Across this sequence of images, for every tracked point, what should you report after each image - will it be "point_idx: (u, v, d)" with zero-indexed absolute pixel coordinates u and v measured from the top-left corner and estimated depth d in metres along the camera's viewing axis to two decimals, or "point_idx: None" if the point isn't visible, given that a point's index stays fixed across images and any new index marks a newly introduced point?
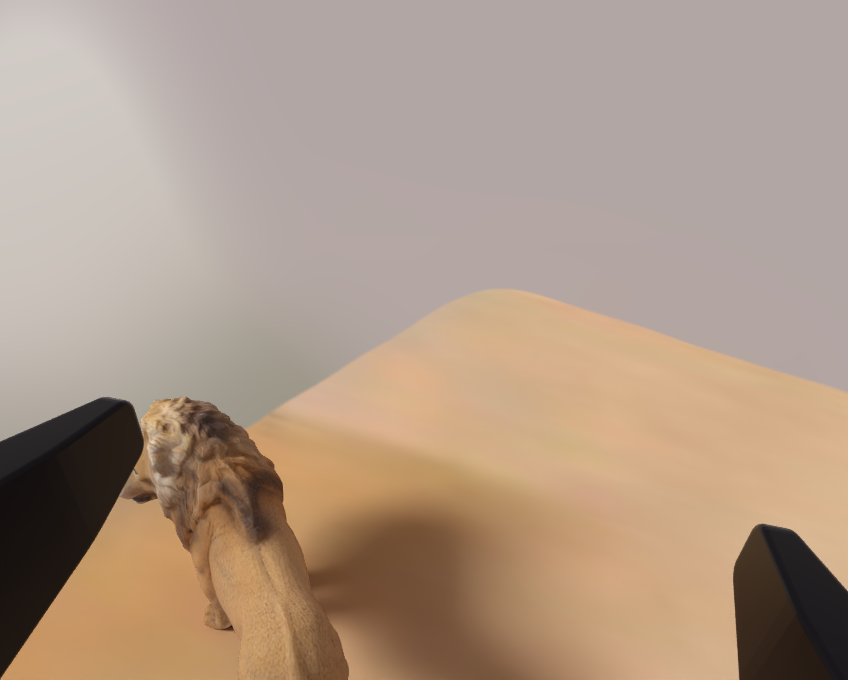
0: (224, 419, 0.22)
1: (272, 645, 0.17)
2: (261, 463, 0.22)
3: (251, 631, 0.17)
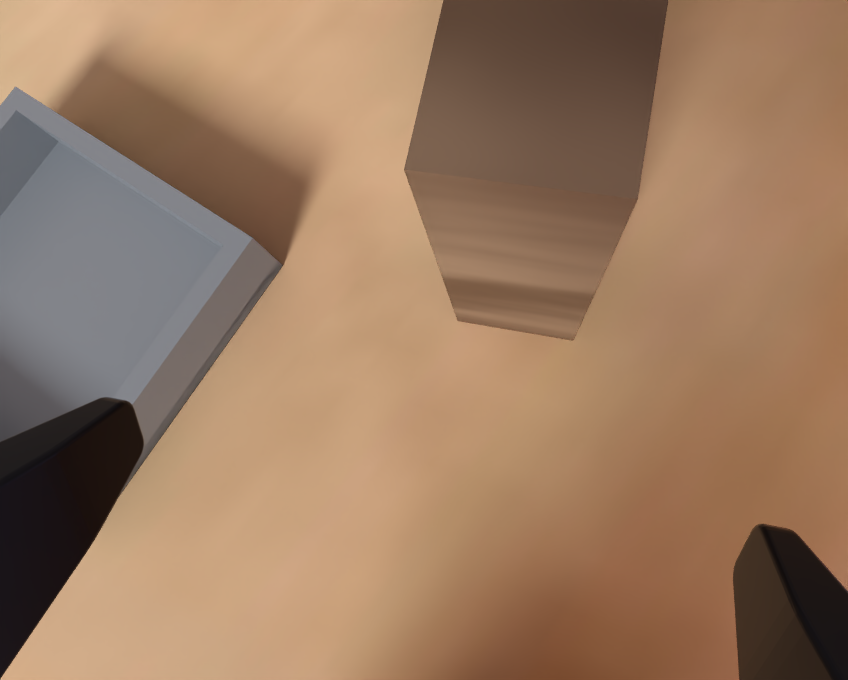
0: None
1: None
2: None
3: None
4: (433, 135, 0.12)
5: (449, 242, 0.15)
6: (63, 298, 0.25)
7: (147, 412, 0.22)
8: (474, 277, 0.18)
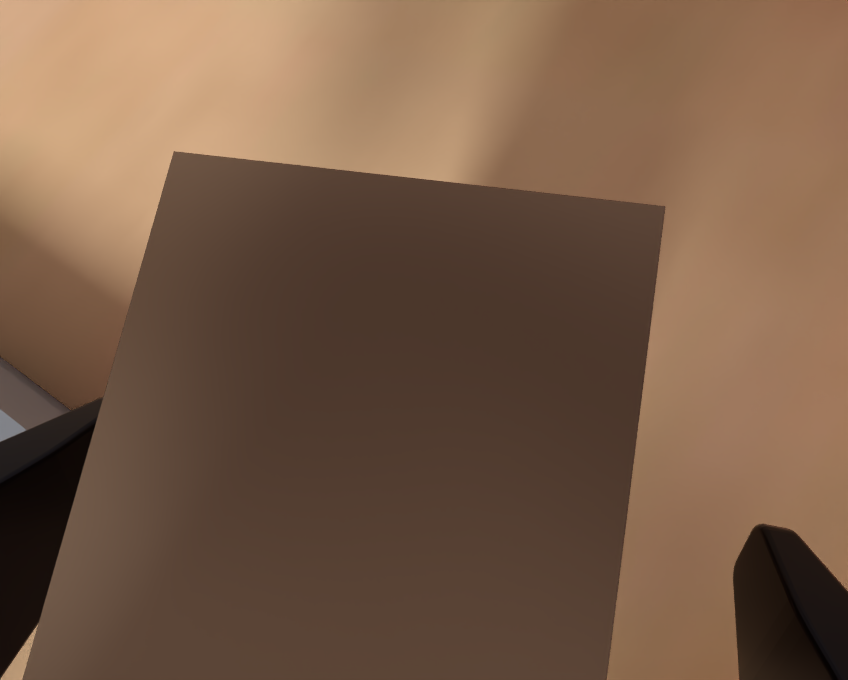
0: None
1: None
2: None
3: None
4: (83, 638, 0.05)
5: None
6: None
7: None
8: None
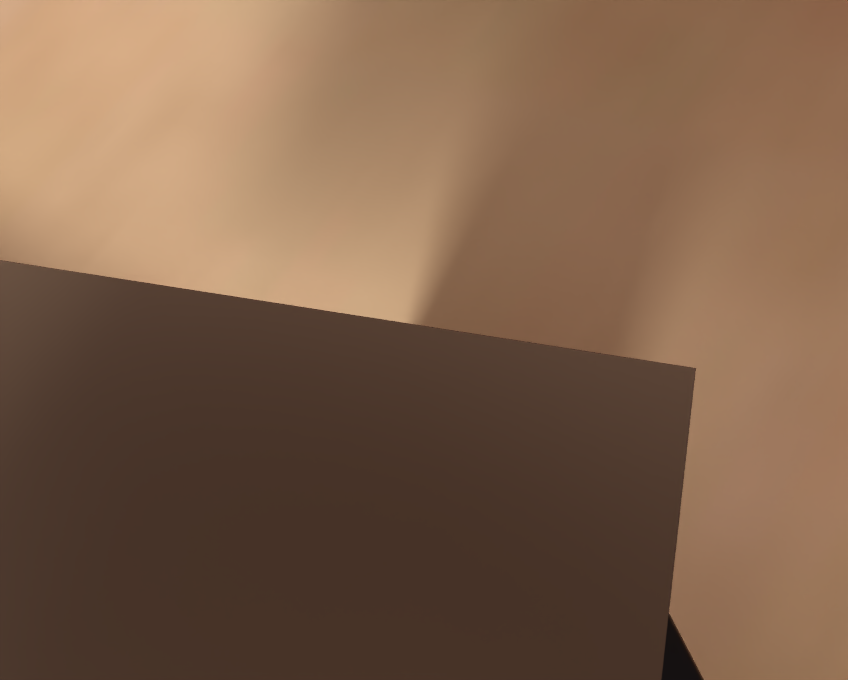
0: None
1: None
2: None
3: None
4: None
5: None
6: None
7: None
8: None
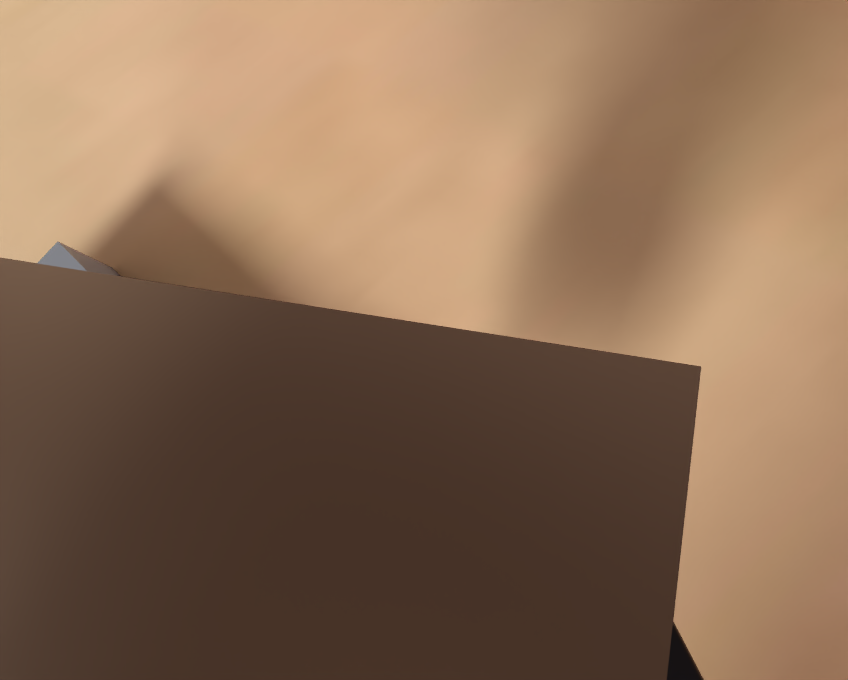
0: None
1: None
2: None
3: None
4: None
5: None
6: None
7: None
8: None
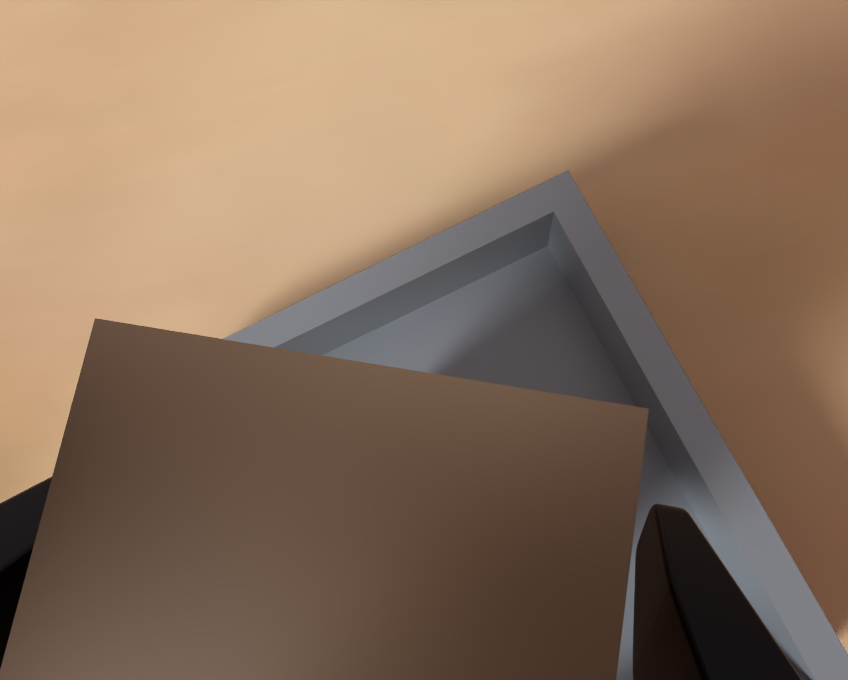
0: None
1: None
2: None
3: None
4: None
5: None
6: None
7: None
8: None
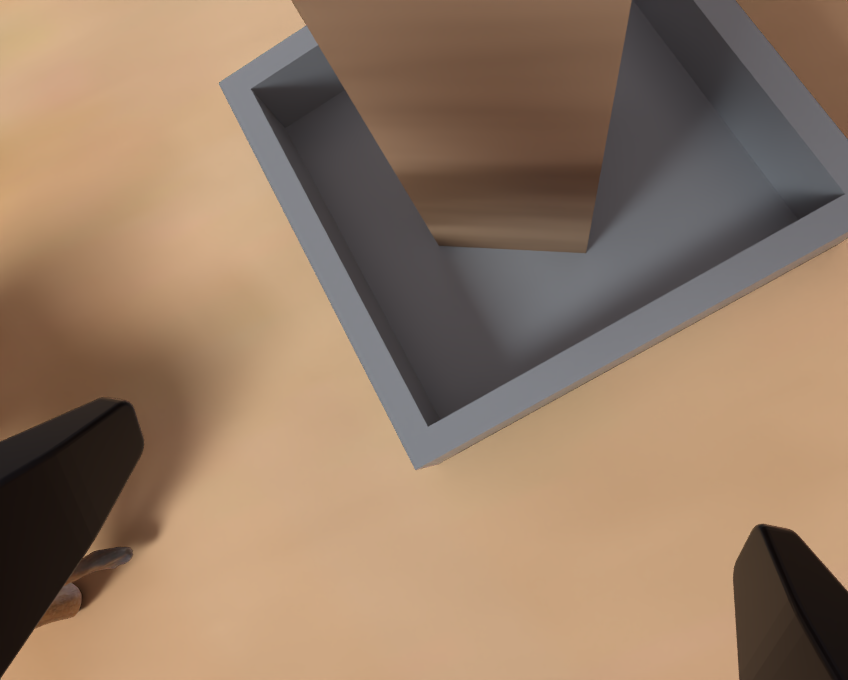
0: None
1: None
2: None
3: None
4: None
5: (381, 100, 0.10)
6: None
7: (607, 366, 0.16)
8: (435, 164, 0.13)
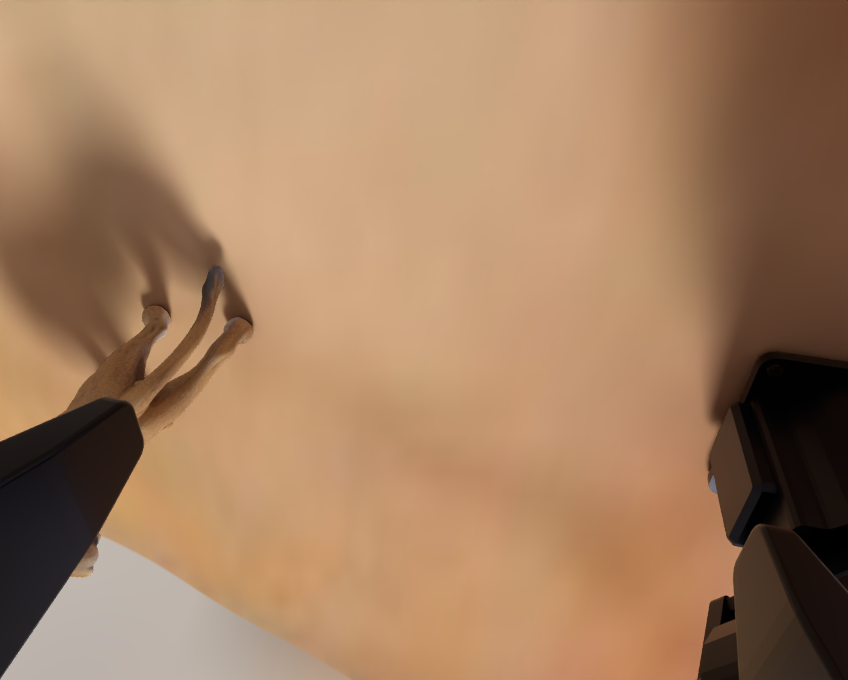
0: None
1: None
2: None
3: None
4: None
5: None
6: None
7: None
8: None
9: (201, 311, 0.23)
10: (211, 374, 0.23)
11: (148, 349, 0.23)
